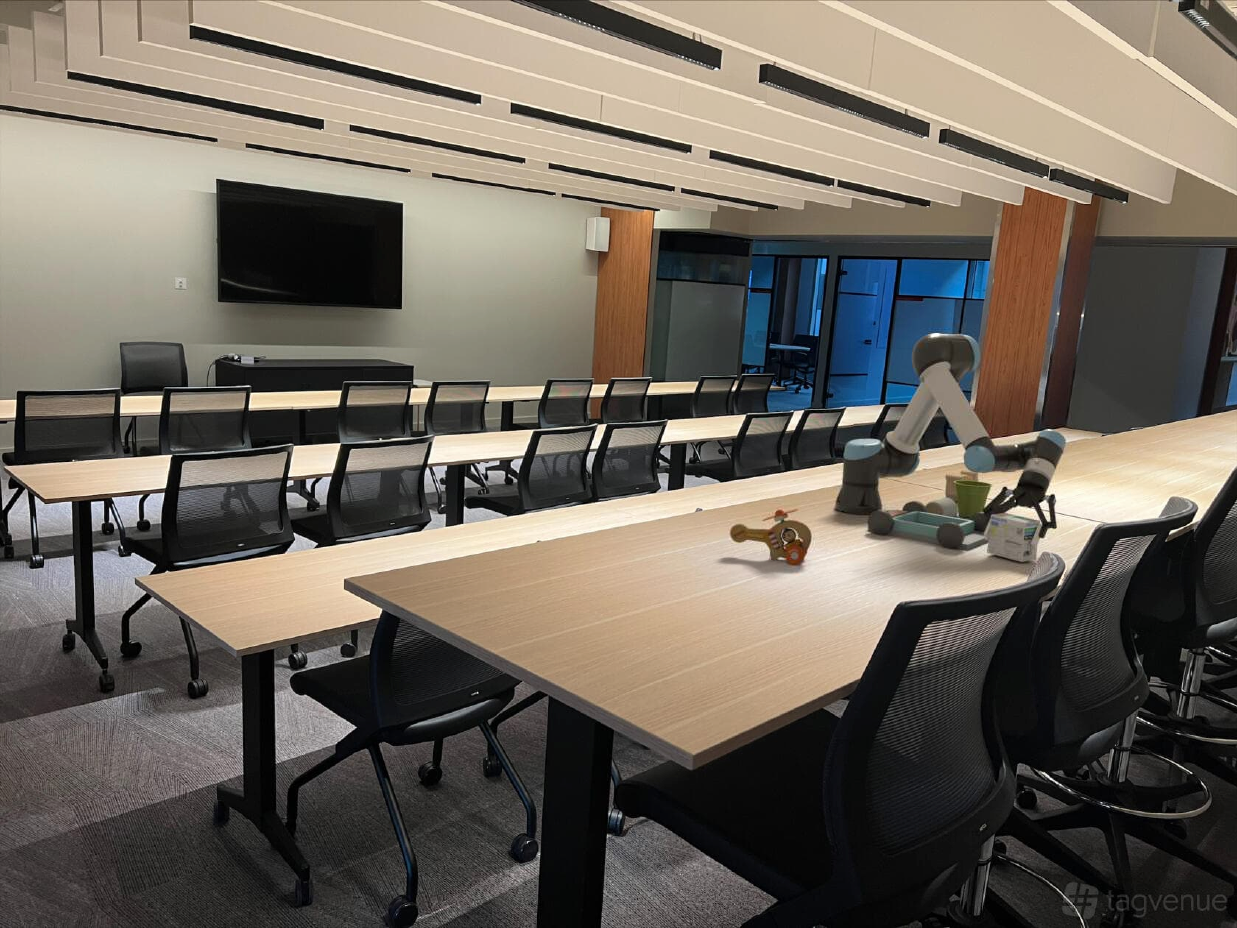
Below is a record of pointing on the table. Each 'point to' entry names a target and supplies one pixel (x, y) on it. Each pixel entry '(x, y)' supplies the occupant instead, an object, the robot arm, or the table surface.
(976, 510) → the plant pot
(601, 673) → the table surface
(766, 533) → the toy helicopter
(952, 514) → the ceramic mug
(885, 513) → the chassis
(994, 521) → the light bulb box
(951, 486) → the toy train
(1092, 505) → the table surface
